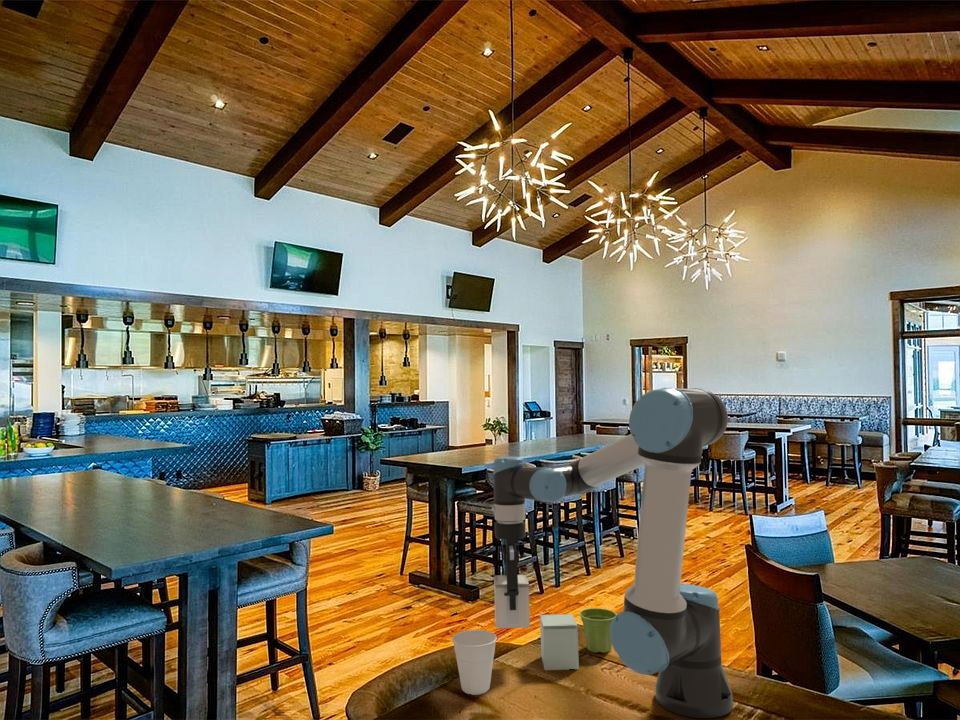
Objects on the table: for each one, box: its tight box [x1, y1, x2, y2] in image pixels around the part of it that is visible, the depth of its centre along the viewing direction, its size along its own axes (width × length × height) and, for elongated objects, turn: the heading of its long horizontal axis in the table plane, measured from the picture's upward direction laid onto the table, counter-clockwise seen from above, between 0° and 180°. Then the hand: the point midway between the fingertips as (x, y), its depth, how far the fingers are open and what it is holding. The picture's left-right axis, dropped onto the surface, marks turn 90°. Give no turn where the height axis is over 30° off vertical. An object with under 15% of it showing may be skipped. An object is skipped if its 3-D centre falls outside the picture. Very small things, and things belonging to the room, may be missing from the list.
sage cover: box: [539, 613, 580, 671], centre depth 151 cm, size 8×8×10 cm
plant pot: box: [578, 607, 618, 654], centre depth 159 cm, size 9×9×9 cm
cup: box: [451, 629, 498, 696], centre depth 138 cm, size 10×10×11 cm
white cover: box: [493, 574, 531, 629], centre depth 152 cm, size 8×8×10 cm
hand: (511, 616), depth 152 cm, fingers closed on white cover, 8 cm apart
